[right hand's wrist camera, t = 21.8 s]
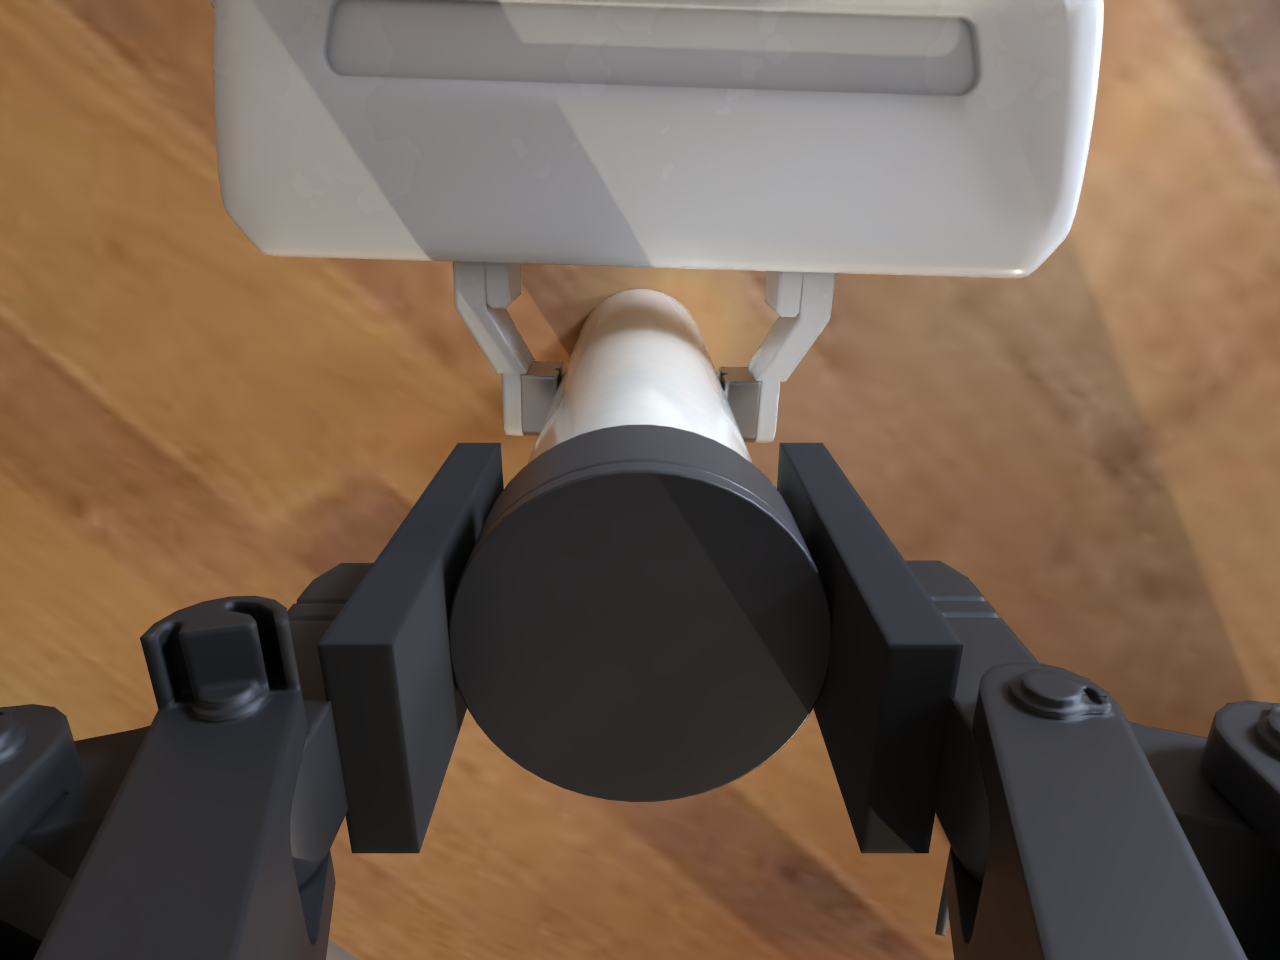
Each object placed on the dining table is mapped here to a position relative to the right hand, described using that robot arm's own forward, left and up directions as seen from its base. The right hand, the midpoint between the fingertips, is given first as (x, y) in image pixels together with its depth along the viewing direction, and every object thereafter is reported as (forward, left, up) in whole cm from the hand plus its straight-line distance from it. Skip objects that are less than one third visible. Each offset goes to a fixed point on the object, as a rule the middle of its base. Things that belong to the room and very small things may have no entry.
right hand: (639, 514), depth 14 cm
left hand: (0, +1, -8) cm, 8 cm away
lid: (0, 0, +4) cm, 4 cm away
